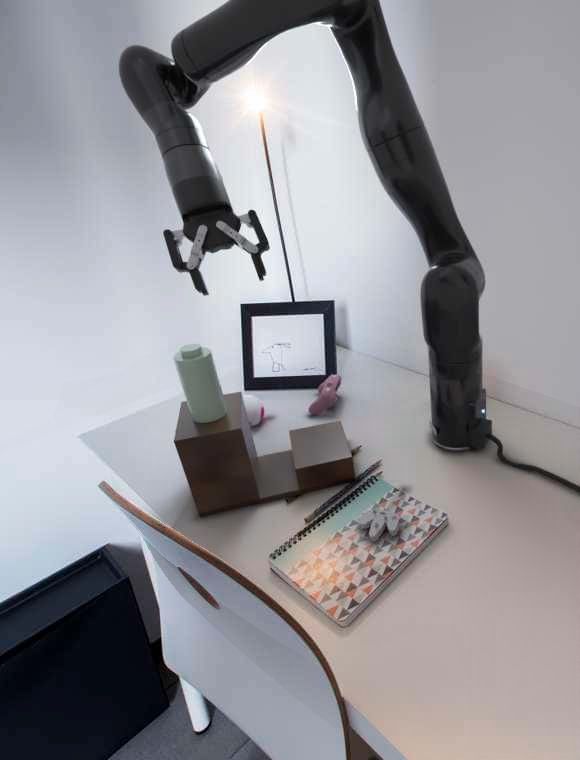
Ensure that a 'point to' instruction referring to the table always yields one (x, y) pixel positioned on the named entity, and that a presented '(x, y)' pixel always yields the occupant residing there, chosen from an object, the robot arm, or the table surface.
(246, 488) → the step shelf
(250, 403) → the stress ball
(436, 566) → the table surface
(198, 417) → the green knobbed cylinder
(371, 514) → the grey lobed piece
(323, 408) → the pink lumpy piece
